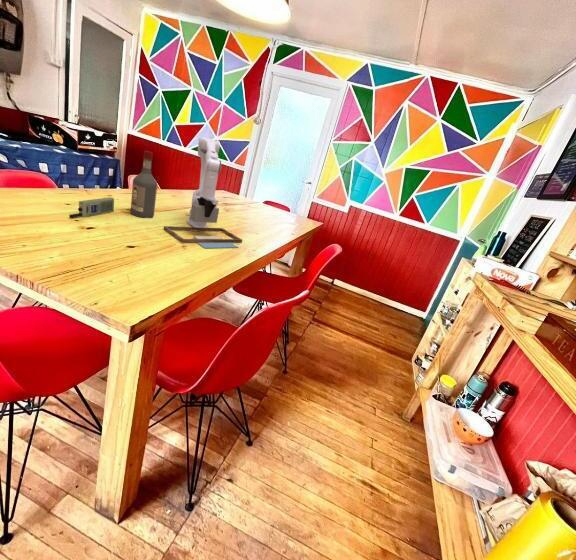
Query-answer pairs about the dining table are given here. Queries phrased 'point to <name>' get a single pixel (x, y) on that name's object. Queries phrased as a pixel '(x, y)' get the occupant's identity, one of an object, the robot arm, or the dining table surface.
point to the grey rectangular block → (203, 214)
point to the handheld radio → (94, 207)
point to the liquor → (144, 190)
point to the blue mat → (217, 245)
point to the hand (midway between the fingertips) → (204, 215)
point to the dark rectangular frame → (234, 240)
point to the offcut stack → (206, 237)
